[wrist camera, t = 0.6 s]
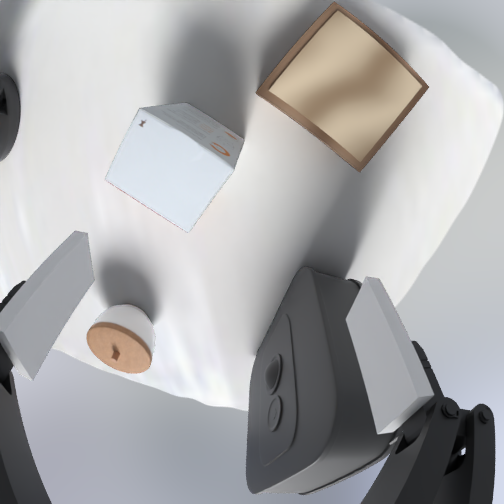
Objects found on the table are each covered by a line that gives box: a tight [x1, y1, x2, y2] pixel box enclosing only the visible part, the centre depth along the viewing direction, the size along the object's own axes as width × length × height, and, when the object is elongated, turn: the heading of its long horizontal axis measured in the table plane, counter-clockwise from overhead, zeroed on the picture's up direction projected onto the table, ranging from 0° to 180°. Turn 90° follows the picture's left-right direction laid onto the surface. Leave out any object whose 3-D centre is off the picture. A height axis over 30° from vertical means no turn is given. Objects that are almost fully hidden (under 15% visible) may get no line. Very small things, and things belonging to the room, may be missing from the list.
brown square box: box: [256, 2, 429, 172], centre depth 23 cm, size 12×12×6 cm
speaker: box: [246, 267, 403, 495], centre depth 32 cm, size 25×9×25 cm, turn 163°
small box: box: [105, 103, 244, 233], centre depth 24 cm, size 8×6×13 cm
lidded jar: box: [87, 304, 156, 373], centre depth 40 cm, size 11×11×9 cm
